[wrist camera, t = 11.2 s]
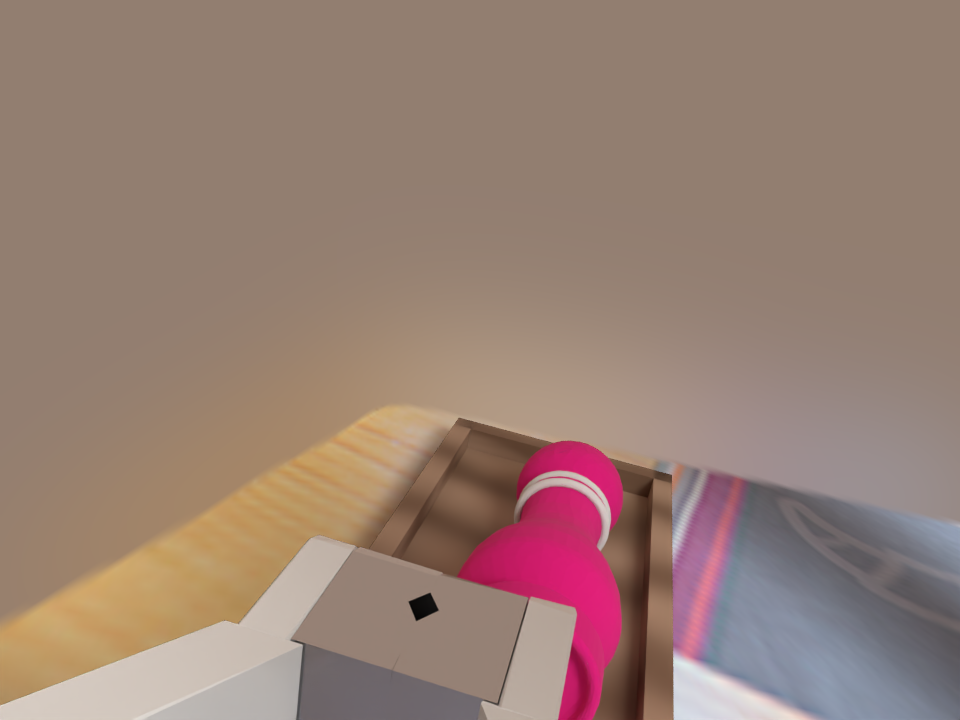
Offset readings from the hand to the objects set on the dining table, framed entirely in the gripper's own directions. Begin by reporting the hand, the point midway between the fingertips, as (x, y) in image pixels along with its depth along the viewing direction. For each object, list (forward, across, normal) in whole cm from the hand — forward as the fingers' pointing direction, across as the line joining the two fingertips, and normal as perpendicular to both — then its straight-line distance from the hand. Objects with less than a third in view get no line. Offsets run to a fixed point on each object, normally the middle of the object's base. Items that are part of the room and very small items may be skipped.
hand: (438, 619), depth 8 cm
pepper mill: (+15, 0, +15) cm, 21 cm away
